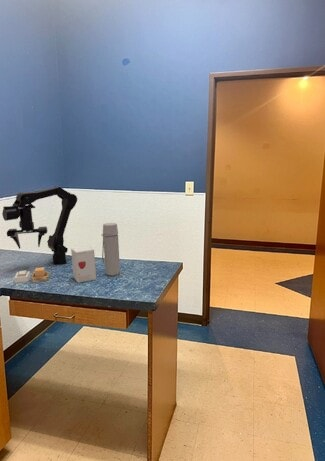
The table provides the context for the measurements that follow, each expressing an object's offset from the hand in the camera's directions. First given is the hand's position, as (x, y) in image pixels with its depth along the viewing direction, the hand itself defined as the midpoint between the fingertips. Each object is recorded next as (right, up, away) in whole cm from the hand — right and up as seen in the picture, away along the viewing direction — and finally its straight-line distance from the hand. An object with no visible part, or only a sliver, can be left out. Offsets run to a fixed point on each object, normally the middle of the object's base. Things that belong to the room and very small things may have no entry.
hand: (29, 247), depth 171 cm
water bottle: (+43, -13, -6) cm, 45 cm away
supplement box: (+31, -14, -12) cm, 36 cm away
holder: (+10, -14, -11) cm, 20 cm away
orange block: (+10, -14, -11) cm, 20 cm away
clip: (+1, -15, -10) cm, 18 cm away
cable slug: (+1, -15, -10) cm, 18 cm away
